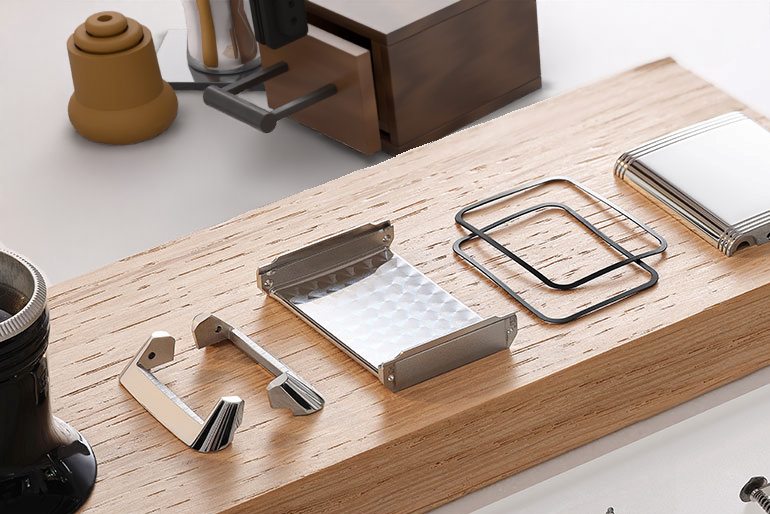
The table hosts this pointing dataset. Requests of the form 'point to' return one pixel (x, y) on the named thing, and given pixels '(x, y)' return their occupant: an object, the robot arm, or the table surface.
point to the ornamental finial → (117, 82)
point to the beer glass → (220, 36)
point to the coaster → (185, 75)
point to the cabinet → (443, 59)
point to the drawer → (316, 87)
